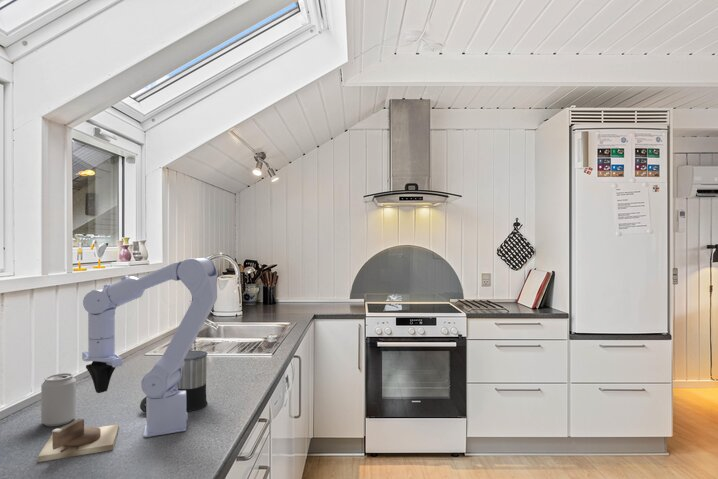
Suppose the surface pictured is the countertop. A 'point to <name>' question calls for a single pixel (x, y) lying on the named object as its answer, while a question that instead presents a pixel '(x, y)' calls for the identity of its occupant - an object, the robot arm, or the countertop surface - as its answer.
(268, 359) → the countertop surface
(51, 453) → the dial plate
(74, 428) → the dial
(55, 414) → the can
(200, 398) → the milk frother
